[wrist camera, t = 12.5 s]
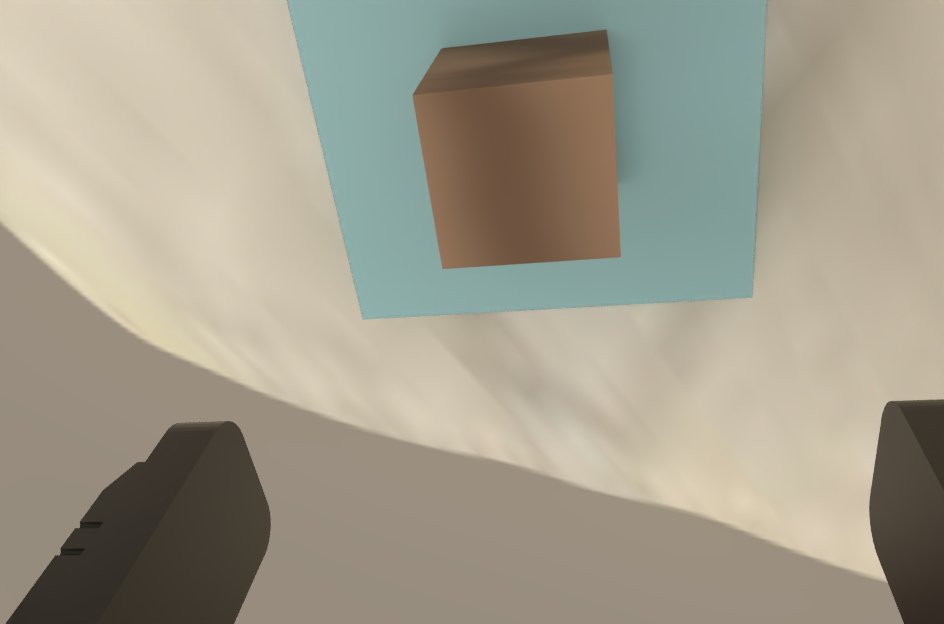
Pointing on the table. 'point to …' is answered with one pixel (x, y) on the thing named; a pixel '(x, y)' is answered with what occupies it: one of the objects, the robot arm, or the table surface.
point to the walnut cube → (521, 151)
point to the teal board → (636, 132)
